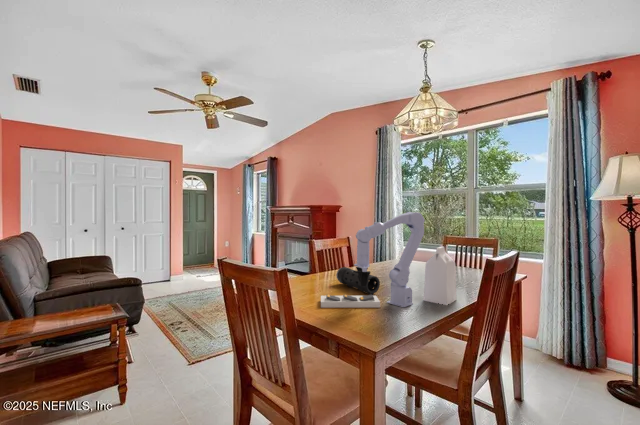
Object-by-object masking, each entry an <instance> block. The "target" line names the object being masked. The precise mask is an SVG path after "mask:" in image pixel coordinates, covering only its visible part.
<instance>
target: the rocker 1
mask: <svg viewBox="0 0 640 425" xmlns="http://www.w3.org/2000/svg"><path fill="white" fill-rule="evenodd" d="M325 296H326V299H329V300H332V301H339V297H335V296H336V295H331V294H326V295H325Z"/></svg>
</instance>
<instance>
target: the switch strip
mask: <svg viewBox="0 0 640 425" xmlns="http://www.w3.org/2000/svg"><path fill="white" fill-rule="evenodd" d="M334 296H335V297H339V301H332V300H329V299H326V295H320V308H381V300H380V299H379V298H378V296H377V295H373V297H374V299H372V300H368V301H361V300H360V297H364V296H365V295H351V296H352V297H356V299H357V301H350V300H346V299H344V298H343V295H334Z"/></svg>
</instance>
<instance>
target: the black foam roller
mask: <svg viewBox="0 0 640 425" xmlns="http://www.w3.org/2000/svg"><path fill="white" fill-rule="evenodd" d="M335 276H336V279H337V281H338V282H339V283H341V284H343V285H346V286H347V287H348V288H355V289H357V290H358V291H360V292H363V293H366V294H368V295H371V294H372V295H373V296H374V294H375V293H377V292H378V291H379V289H380V287H381V286H380V285H381V284H380V283H381V281H380V279H379V277H377V276H376V275H372V274H370V275H369V277H368V280H367V284H366V286H361V282H360V281H359V276H358V271H357V270H355V269H352V268H349V267H345V266H343V267H340V268H339V269H337V271H336V274H335Z"/></svg>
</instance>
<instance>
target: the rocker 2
mask: <svg viewBox="0 0 640 425" xmlns="http://www.w3.org/2000/svg"><path fill="white" fill-rule="evenodd" d="M363 296H364V297H360V300H361V301H368V300H372V299H374V297H373V296H374V294H373V295H372V294H368V295H363Z"/></svg>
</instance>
